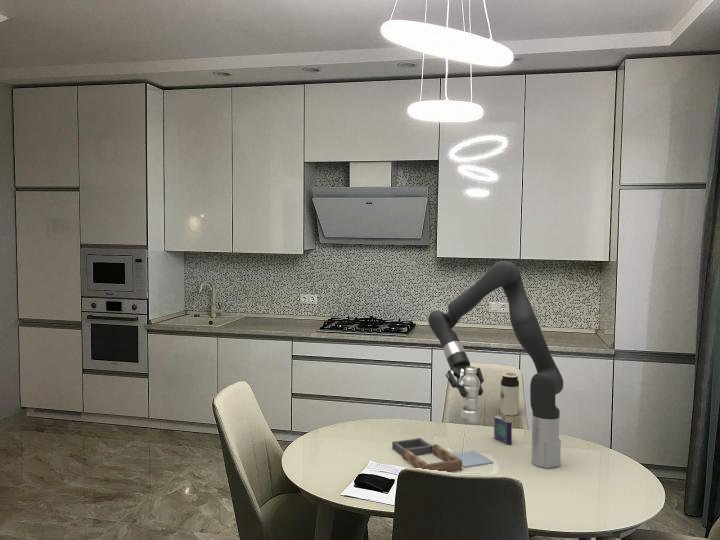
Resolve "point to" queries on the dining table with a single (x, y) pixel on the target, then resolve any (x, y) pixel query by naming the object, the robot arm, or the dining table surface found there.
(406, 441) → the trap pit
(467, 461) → the pad
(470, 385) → the plastic bottle
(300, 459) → the dining table surface
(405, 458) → the walled lane
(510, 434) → the flask
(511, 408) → the travel mug
